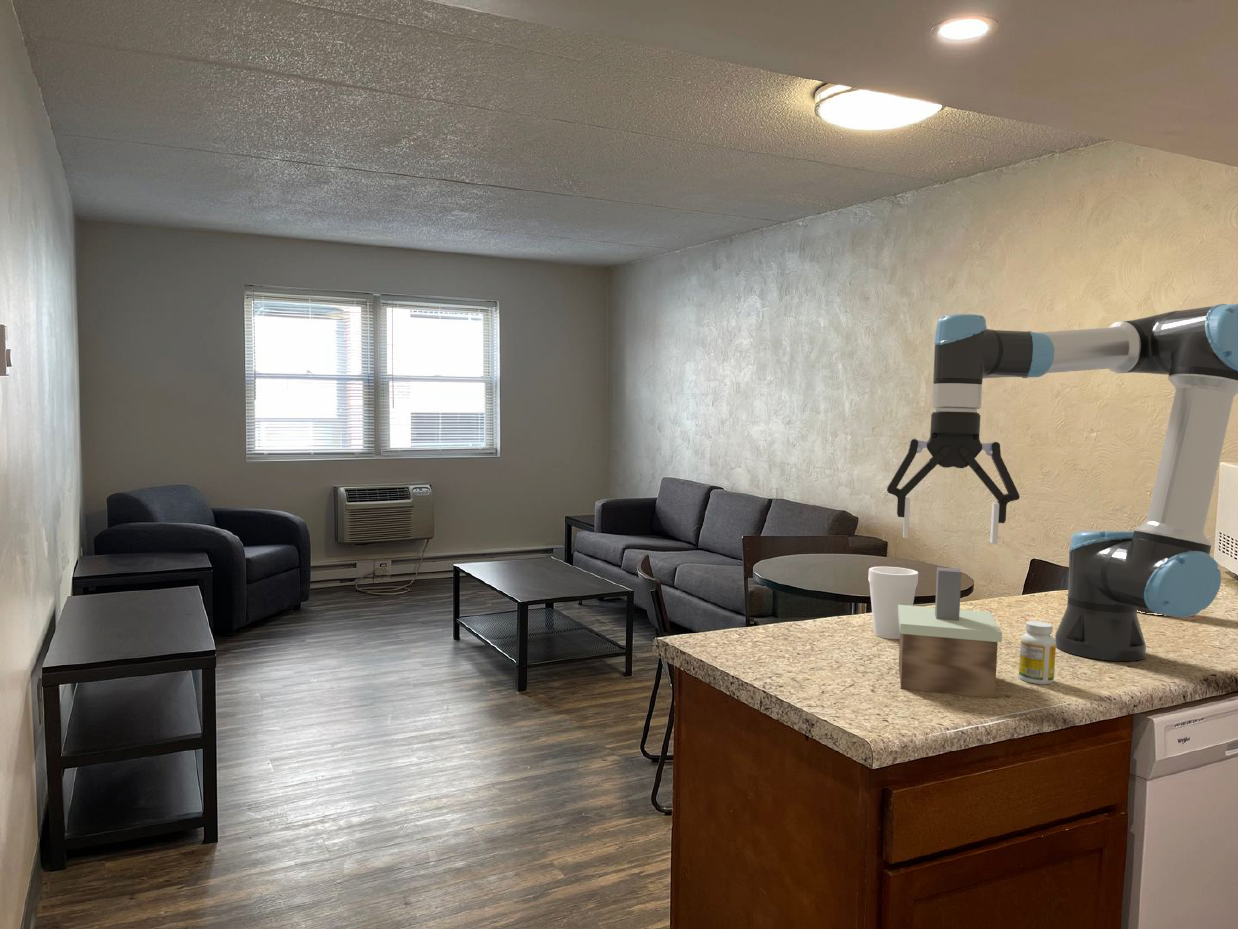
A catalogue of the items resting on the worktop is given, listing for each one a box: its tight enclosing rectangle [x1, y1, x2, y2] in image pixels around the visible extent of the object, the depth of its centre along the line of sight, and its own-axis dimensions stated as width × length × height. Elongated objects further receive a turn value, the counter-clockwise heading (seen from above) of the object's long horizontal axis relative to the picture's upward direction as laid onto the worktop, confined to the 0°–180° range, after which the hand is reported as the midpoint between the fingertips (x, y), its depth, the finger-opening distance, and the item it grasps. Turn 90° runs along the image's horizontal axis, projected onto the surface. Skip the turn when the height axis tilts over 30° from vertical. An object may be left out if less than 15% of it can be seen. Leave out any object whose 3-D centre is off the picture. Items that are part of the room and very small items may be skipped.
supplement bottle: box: [1018, 620, 1057, 685], centre depth 148 cm, size 5×5×10 cm
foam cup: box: [867, 566, 919, 640], centre depth 176 cm, size 10×9×13 cm
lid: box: [898, 566, 1003, 643], centre depth 145 cm, size 15×15×10 cm
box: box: [898, 634, 999, 699], centre depth 146 cm, size 14×14×9 cm
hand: (948, 540), depth 145 cm, fingers open, 13 cm apart
